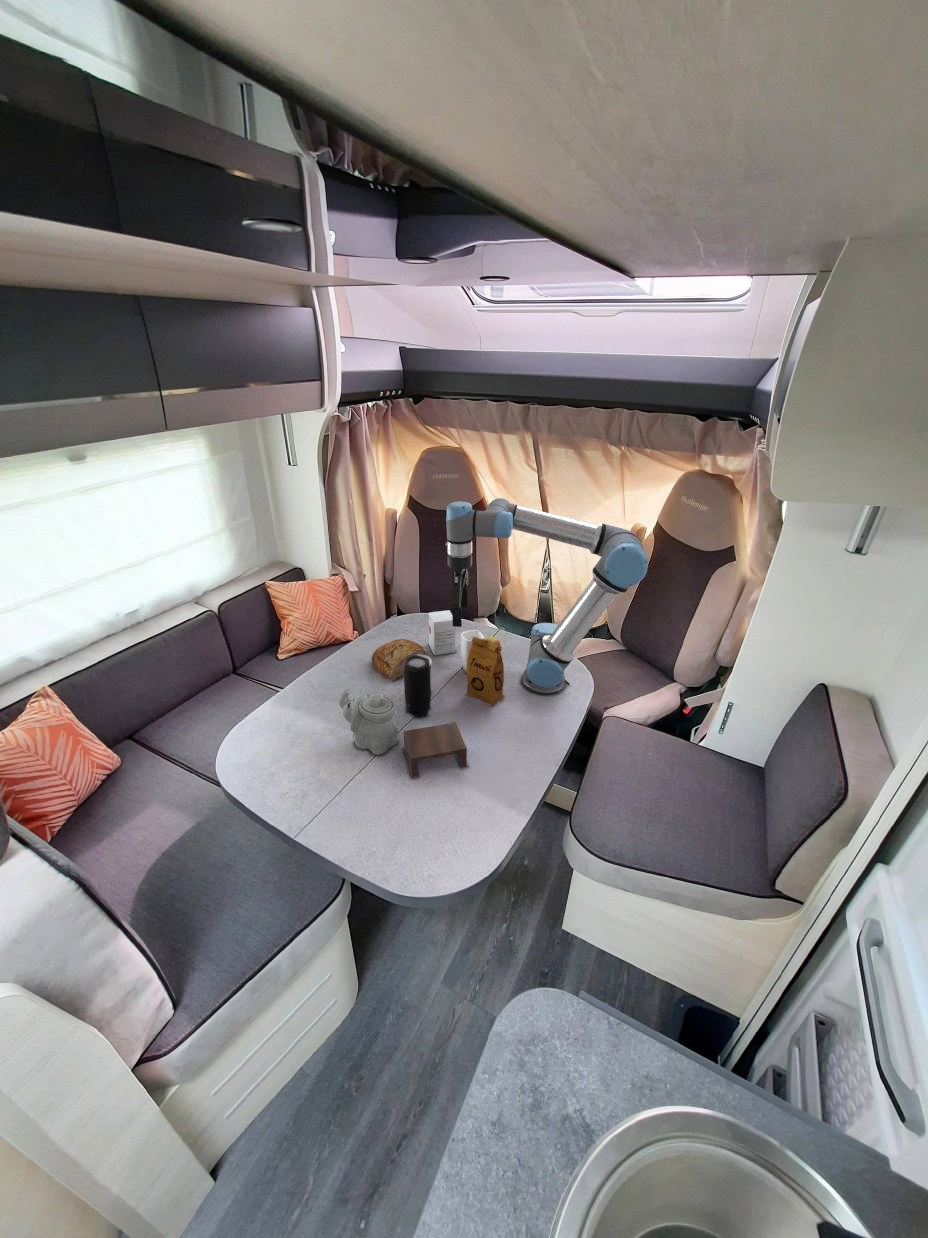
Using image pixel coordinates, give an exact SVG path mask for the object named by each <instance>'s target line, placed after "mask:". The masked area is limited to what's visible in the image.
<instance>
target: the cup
mask: <svg viewBox="0 0 928 1238" xmlns="http://www.w3.org/2000/svg"><path fill="white" fill-rule="evenodd" d="M473 637H477V638H480V639H484V640H485V636H484V635H483V633H482V632H481V631H480V630H478V629H472V630H466V631H462V632H461V633H460V654H461V655H460V656H461V663H462V668H463V670H464V671H465V673H467V659H468V656H469V652H470V648H471V646H472V638H473Z"/></svg>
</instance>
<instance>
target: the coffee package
mask: <svg viewBox="0 0 928 1238" xmlns="http://www.w3.org/2000/svg"><path fill="white" fill-rule="evenodd" d="M504 669H505V667H504V661H503V656H502V651H500V649H499V646H496V645H494V644H493V643H491V642H489V641H487V640H485V638H484V639H480V638H477V637H473V638H472V646H471V648H470V652H469V656H468V659H467V672H466V694H467V695H468V696H470V697H473V698H475V699H477V700H479V701H480V702H483V703H485V704H487V705H489V706H490V707H491V706H494V704H496V703H498V702H500V701H502V699H503V697H504V696H503V695H504V684H505V671H504Z"/></svg>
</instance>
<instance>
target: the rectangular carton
mask: <svg viewBox="0 0 928 1238" xmlns="http://www.w3.org/2000/svg"><path fill="white" fill-rule="evenodd" d="M427 616H428V646H429V648H430V650H431V652H432V653H433V656H441V655H446V654H453V653H456V627H453V620H452V611H451V610H449V609H447V610H439V611H431V612H428V615H427Z"/></svg>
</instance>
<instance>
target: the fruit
mask: <svg viewBox="0 0 928 1238" xmlns="http://www.w3.org/2000/svg"><path fill="white" fill-rule="evenodd" d="M484 640H487V641H489V642H491V643H493V644H494V645H496V646H499V649H500V652H502V648H503V646H502V645H501V641H500V639H498V638H497V637H495V636H489V637H486V638H484Z"/></svg>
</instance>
